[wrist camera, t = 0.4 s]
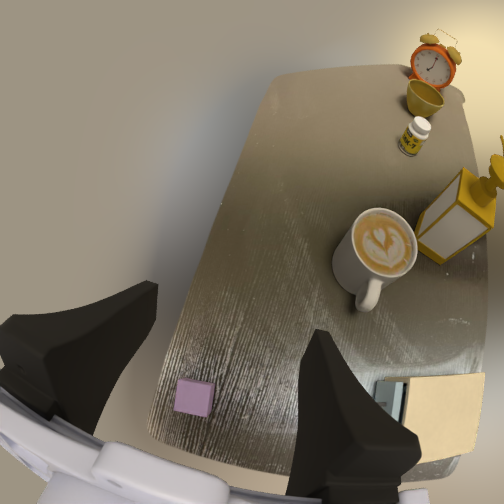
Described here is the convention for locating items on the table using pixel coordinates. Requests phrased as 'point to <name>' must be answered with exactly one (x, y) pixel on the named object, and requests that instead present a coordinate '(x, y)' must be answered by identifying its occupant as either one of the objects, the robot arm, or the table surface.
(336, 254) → the coffee mug
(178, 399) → the block
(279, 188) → the table surface
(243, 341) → the table surface
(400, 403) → the drawer
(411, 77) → the alarm clock
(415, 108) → the flower pot
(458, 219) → the soap bottle
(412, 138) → the supplement bottle
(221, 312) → the table surface
